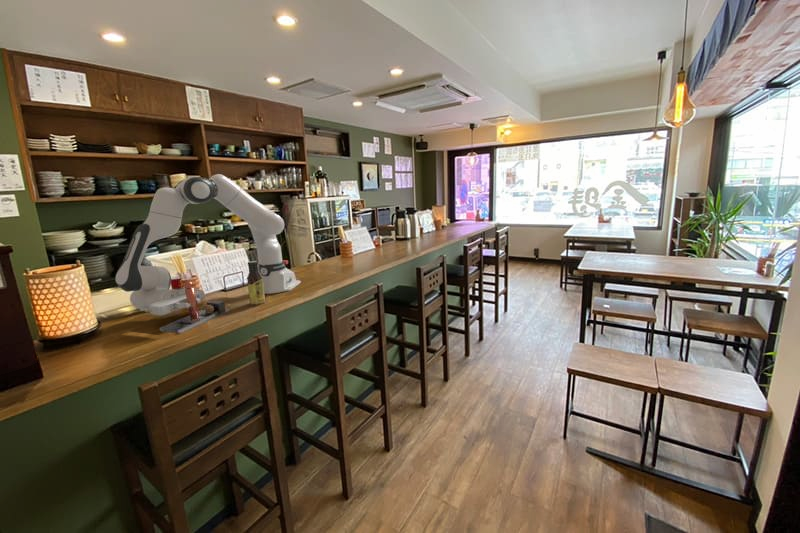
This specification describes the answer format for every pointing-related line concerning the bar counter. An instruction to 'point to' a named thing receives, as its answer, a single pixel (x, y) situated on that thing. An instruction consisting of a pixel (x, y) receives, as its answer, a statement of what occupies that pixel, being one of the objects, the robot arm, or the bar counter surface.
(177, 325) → the bed
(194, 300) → the lever
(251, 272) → the sauce bottle
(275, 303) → the bar counter surface
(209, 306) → the walnut
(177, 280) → the soda can
